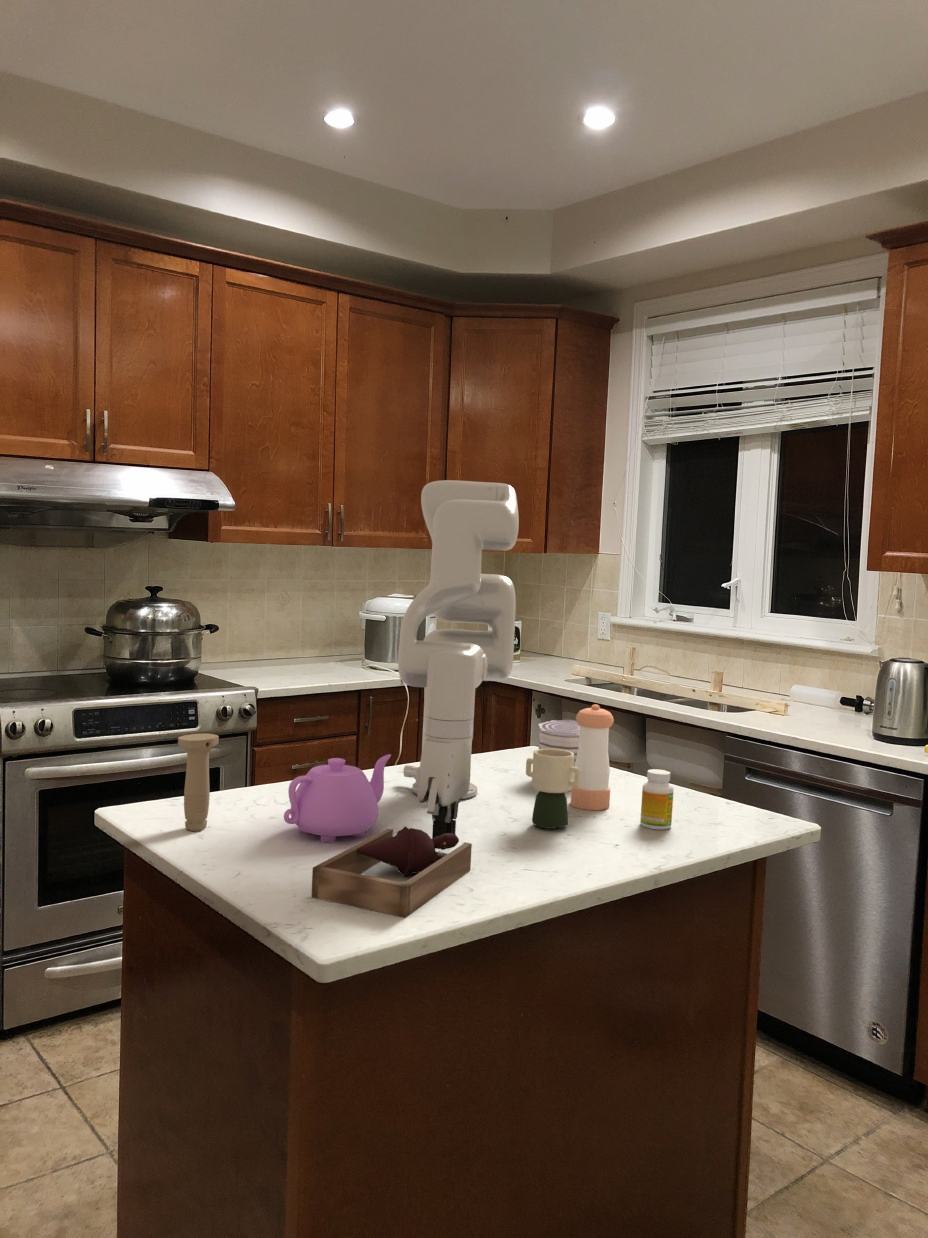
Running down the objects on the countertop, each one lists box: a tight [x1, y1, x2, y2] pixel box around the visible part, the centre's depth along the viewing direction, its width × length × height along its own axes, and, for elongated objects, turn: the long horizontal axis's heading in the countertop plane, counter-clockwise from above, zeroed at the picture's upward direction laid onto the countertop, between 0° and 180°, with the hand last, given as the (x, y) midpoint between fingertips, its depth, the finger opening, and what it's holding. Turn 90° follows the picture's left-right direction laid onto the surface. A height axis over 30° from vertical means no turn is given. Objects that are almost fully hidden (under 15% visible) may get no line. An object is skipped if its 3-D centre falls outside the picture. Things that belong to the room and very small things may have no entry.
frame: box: [311, 827, 473, 918], centre depth 134 cm, size 14×21×4 cm, turn 157°
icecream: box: [357, 826, 460, 877], centre depth 138 cm, size 7×7×15 cm
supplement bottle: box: [639, 768, 674, 830], centre depth 169 cm, size 5×5×10 cm
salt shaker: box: [570, 703, 615, 811], centre depth 180 cm, size 7×7×19 cm
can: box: [538, 719, 580, 766], centre depth 198 cm, size 11×11×12 cm
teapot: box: [283, 753, 392, 844], centre depth 156 cm, size 20×14×12 cm
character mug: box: [525, 748, 581, 829], centre depth 165 cm, size 11×7×13 cm, turn 52°
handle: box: [177, 732, 220, 832], centre depth 154 cm, size 5×6×15 cm
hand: (443, 844), depth 149 cm, fingers closed
